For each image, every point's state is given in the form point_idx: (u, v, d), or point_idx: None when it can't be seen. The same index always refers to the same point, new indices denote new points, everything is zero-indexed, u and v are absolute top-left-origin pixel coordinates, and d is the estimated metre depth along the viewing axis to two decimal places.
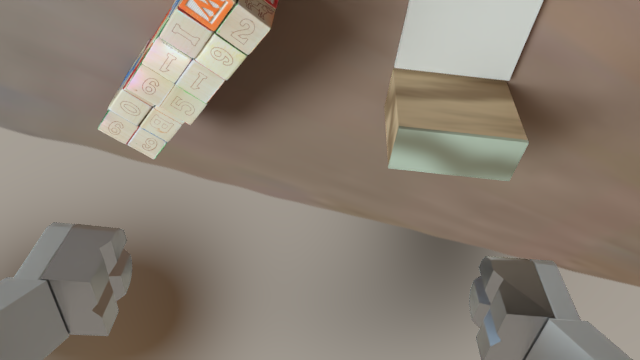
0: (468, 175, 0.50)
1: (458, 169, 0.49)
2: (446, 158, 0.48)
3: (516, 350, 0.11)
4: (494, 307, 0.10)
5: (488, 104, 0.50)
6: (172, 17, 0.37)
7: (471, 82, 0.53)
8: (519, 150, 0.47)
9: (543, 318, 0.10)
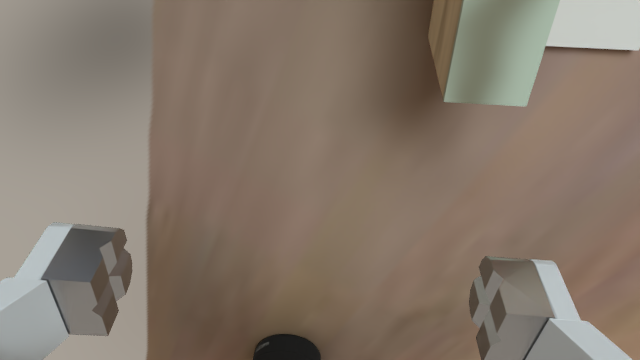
0: (459, 37, 0.29)
1: (474, 17, 0.28)
2: None
3: (516, 350, 0.11)
4: (494, 307, 0.10)
5: None
6: None
7: None
8: (511, 98, 0.31)
9: (543, 318, 0.10)
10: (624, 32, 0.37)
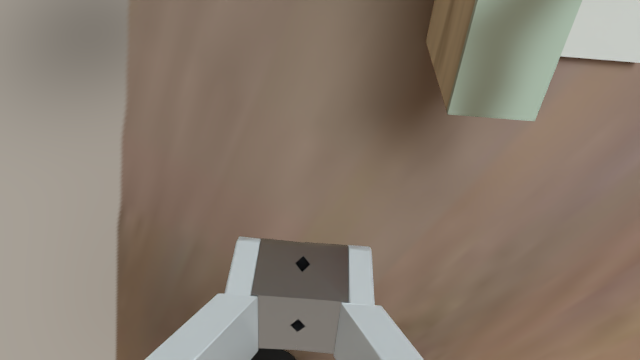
0: (468, 46, 0.26)
1: (486, 24, 0.26)
2: None
3: (323, 336, 0.10)
4: None
5: None
6: None
7: None
8: (519, 112, 0.29)
9: (337, 302, 0.10)
10: (629, 43, 0.36)
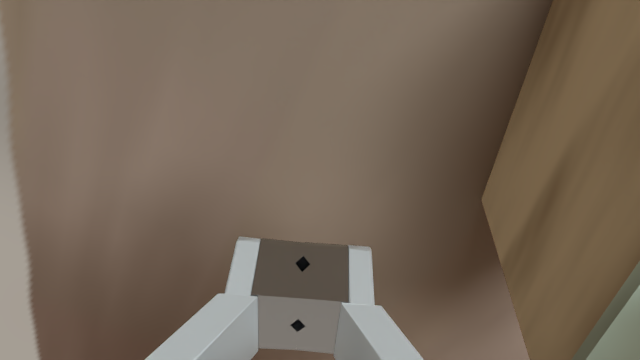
0: (608, 335, 0.13)
1: None
2: None
3: (323, 336, 0.10)
4: None
5: None
6: None
7: None
8: None
9: (337, 302, 0.10)
10: None
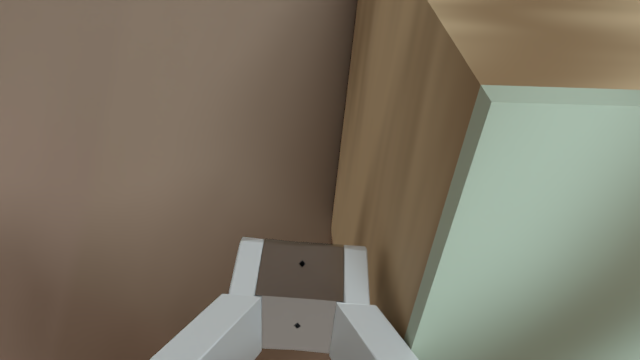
0: None
1: None
2: (520, 354, 0.09)
3: (319, 335, 0.10)
4: None
5: None
6: None
7: None
8: None
9: (332, 302, 0.10)
10: None
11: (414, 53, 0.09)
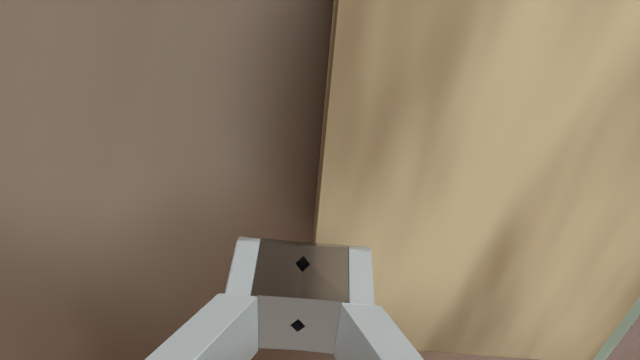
0: None
1: None
2: None
3: (323, 336, 0.10)
4: None
5: None
6: None
7: None
8: None
9: (336, 302, 0.10)
10: None
11: None
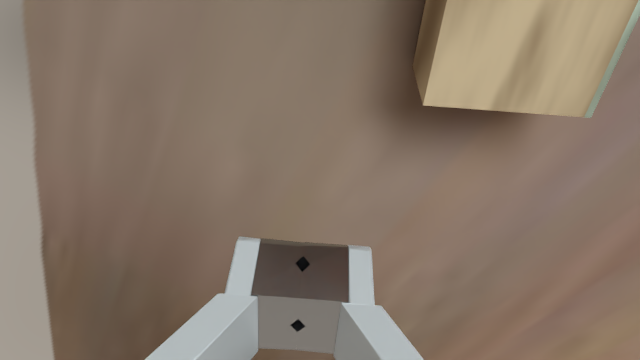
0: (619, 51, 0.28)
1: None
2: None
3: (323, 336, 0.10)
4: None
5: None
6: None
7: None
8: None
9: (337, 303, 0.10)
10: None
11: None
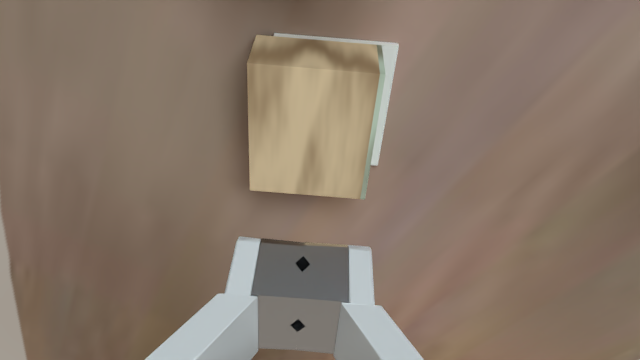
0: (370, 160, 0.42)
1: None
2: None
3: (323, 336, 0.10)
4: None
5: None
6: None
7: None
8: None
9: (336, 302, 0.10)
10: None
11: (338, 82, 0.37)
